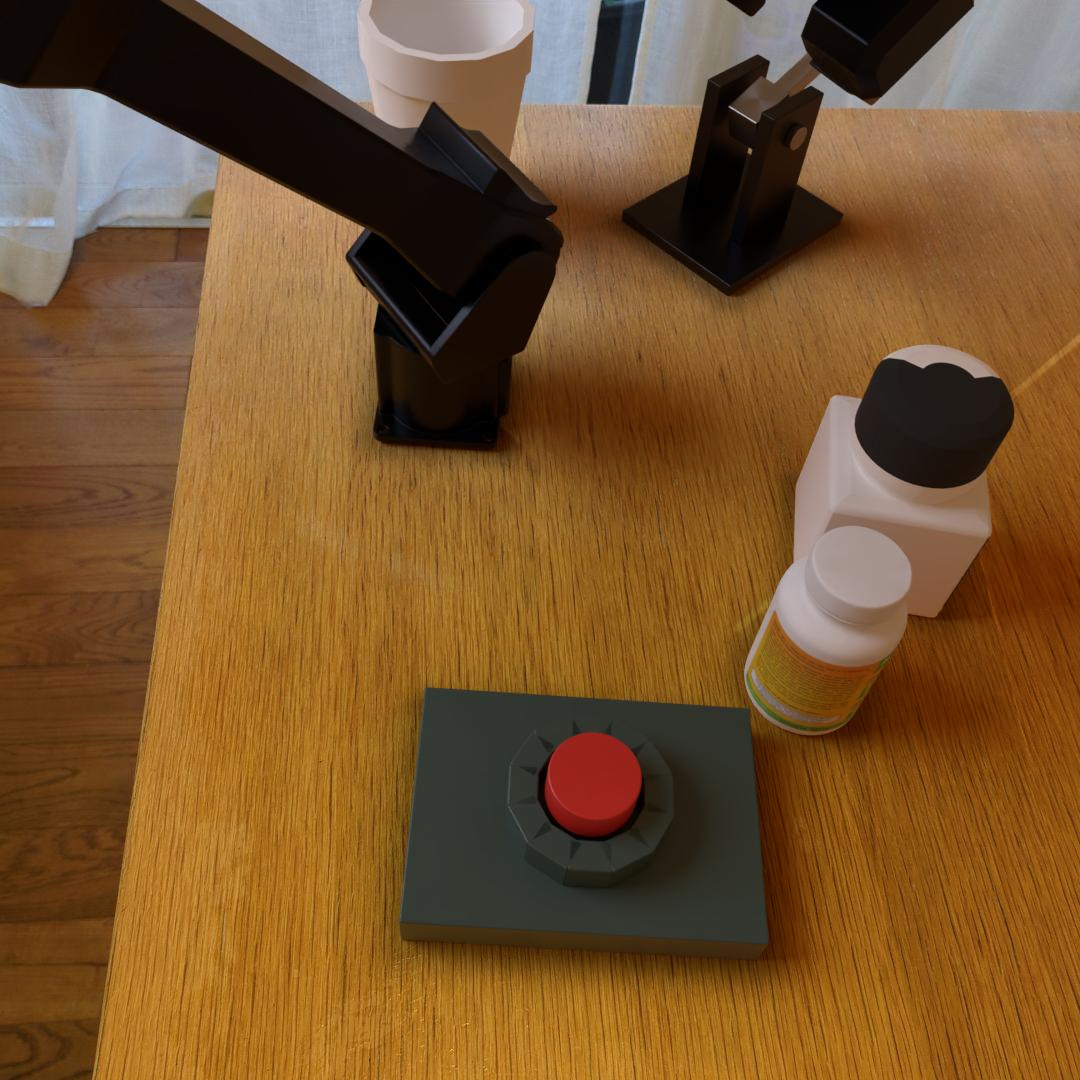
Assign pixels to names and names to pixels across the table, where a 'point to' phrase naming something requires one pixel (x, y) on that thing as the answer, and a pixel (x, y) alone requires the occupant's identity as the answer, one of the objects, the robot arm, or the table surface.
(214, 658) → the table surface
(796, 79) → the lever
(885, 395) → the medicine bottle
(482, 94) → the white flower pot
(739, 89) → the bracket
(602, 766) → the button
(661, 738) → the button block
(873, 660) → the supplement bottle
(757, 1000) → the table surface
